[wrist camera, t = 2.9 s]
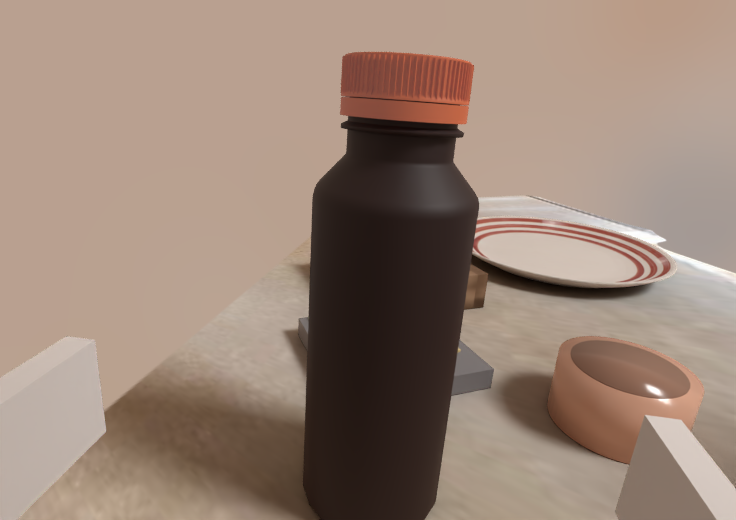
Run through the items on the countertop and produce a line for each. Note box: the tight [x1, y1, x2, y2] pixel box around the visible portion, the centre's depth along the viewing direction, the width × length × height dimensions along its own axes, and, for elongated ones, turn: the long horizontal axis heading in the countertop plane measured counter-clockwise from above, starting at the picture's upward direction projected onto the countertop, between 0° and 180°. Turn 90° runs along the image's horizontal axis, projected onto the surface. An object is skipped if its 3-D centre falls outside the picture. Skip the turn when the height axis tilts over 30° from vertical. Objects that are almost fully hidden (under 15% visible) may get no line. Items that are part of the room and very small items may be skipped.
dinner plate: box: [472, 216, 677, 288], centre depth 62 cm, size 28×27×3 cm
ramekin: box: [547, 336, 704, 464], centre depth 30 cm, size 8×8×4 cm
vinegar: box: [303, 52, 479, 520], centre depth 21 cm, size 7×7×20 cm
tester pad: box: [298, 317, 494, 395], centre depth 35 cm, size 11×11×2 cm
